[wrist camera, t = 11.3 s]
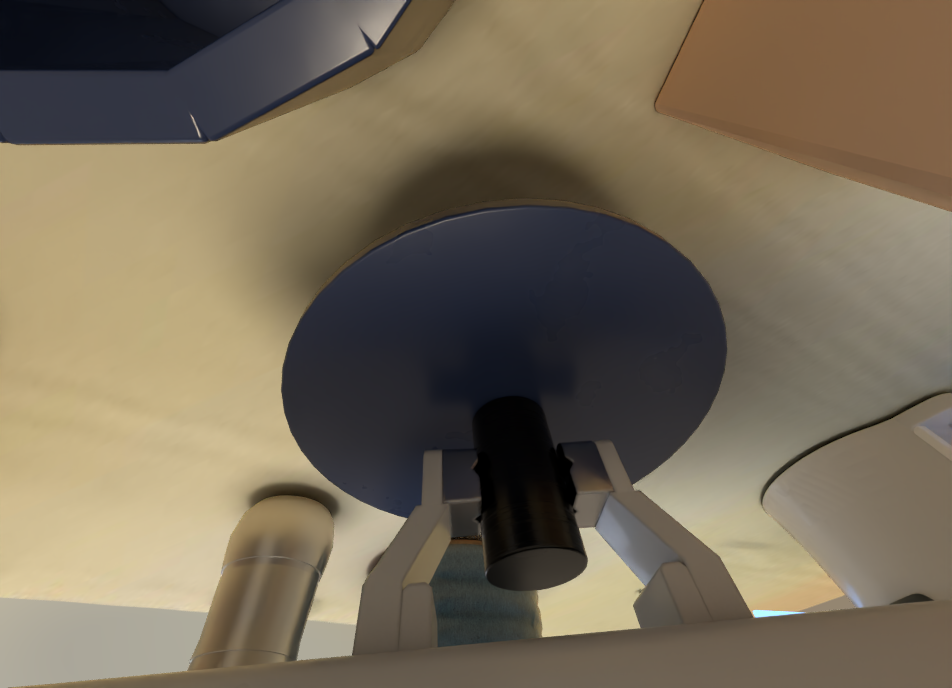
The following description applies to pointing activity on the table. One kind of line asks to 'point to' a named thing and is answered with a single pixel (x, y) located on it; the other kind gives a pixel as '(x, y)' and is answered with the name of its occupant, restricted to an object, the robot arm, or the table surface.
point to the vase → (478, 601)
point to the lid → (504, 365)
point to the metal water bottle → (266, 584)
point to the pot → (188, 63)
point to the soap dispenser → (827, 86)
